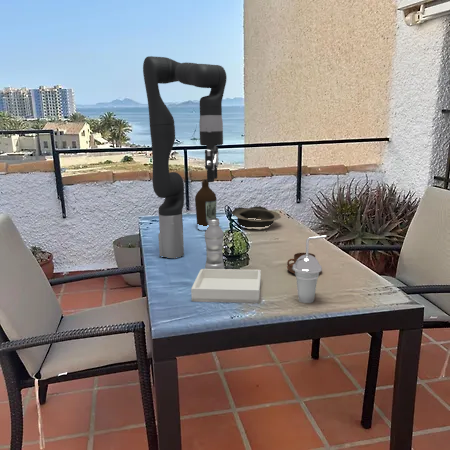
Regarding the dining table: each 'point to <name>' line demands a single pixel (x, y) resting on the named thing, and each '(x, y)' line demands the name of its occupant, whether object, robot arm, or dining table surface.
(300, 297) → the cup with straw
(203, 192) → the olive oil
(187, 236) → the dining table surface
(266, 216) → the stone bowl
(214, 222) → the plastic bottle
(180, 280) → the dining table surface
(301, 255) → the cup and saucer
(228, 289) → the tray
